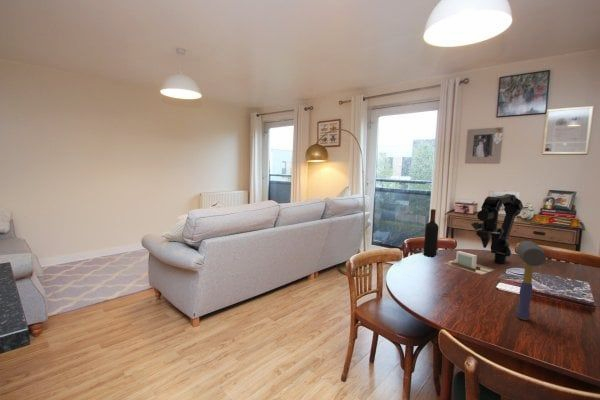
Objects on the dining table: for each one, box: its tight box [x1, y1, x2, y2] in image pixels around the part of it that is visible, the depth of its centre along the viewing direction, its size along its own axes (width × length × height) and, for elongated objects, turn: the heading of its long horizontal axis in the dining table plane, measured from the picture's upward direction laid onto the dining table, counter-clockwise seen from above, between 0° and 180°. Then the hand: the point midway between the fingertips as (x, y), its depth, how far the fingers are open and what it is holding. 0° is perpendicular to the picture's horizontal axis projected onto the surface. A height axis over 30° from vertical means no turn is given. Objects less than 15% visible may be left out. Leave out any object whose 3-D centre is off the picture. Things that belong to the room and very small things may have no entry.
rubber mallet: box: [516, 240, 547, 321], centre depth 112 cm, size 12×8×30 cm, turn 152°
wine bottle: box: [423, 208, 439, 258], centre depth 188 cm, size 8×8×30 cm
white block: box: [455, 250, 478, 269], centre depth 166 cm, size 10×3×8 cm, turn 32°
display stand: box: [444, 258, 496, 276], centre depth 168 cm, size 15×21×2 cm
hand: (488, 246), depth 166 cm, fingers open, 9 cm apart
